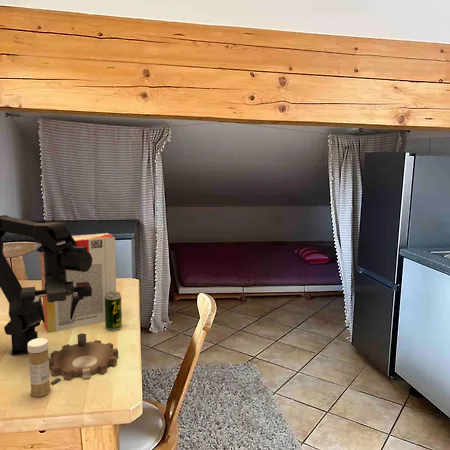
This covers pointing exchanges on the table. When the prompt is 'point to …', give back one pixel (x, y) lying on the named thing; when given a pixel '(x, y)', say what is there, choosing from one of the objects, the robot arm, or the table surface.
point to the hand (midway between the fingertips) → (57, 320)
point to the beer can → (113, 311)
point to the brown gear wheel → (83, 358)
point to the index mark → (55, 381)
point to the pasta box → (97, 276)
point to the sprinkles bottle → (39, 367)
